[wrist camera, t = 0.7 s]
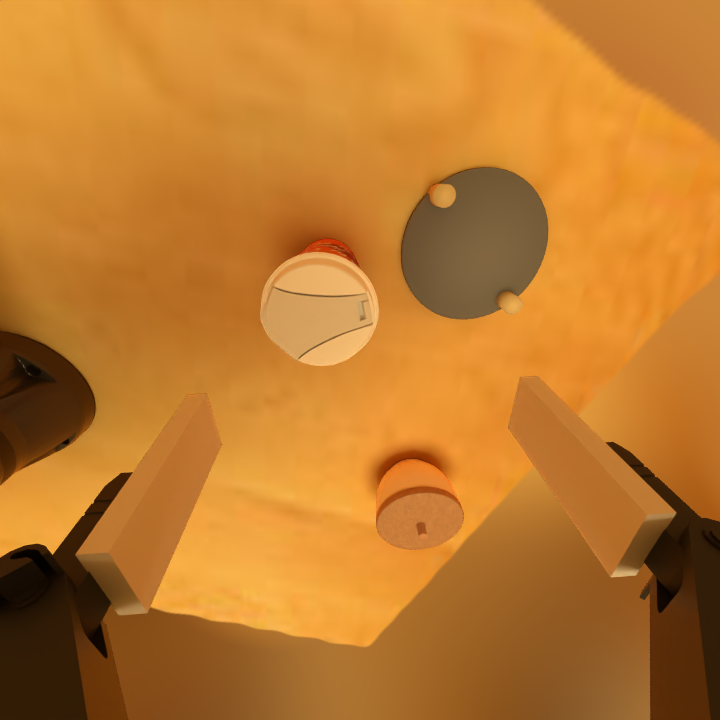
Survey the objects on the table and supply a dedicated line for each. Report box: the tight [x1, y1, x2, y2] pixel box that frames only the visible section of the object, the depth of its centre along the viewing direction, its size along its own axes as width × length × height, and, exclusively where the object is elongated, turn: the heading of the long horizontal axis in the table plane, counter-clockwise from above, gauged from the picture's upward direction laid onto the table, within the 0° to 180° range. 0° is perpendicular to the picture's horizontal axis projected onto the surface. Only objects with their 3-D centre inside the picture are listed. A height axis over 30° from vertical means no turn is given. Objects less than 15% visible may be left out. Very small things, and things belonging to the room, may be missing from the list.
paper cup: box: [260, 239, 379, 366], centre depth 27 cm, size 8×8×14 cm
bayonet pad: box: [401, 168, 548, 319], centre depth 32 cm, size 14×14×3 cm
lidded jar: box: [376, 459, 464, 550], centre depth 43 cm, size 11×11×9 cm
